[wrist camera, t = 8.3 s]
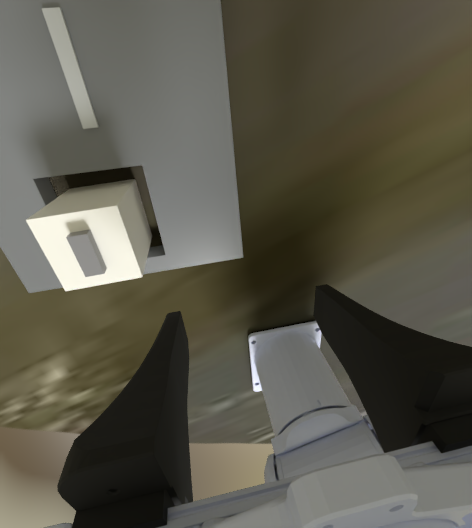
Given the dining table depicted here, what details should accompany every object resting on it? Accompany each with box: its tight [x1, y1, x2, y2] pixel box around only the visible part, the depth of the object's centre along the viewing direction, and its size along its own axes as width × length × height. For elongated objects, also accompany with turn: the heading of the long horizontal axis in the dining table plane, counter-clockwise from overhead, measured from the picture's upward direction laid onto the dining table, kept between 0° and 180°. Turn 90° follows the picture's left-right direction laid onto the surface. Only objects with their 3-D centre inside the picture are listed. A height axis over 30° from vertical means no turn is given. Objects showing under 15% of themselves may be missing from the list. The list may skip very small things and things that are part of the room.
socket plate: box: [0, 0, 243, 293], centre depth 17 cm, size 16×16×2 cm
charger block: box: [26, 179, 152, 291], centre depth 17 cm, size 4×4×7 cm
